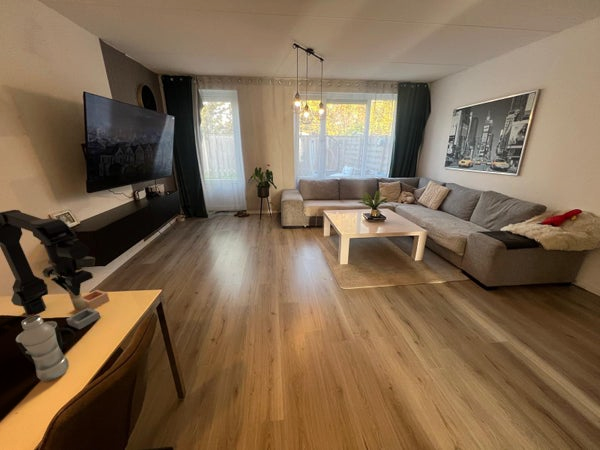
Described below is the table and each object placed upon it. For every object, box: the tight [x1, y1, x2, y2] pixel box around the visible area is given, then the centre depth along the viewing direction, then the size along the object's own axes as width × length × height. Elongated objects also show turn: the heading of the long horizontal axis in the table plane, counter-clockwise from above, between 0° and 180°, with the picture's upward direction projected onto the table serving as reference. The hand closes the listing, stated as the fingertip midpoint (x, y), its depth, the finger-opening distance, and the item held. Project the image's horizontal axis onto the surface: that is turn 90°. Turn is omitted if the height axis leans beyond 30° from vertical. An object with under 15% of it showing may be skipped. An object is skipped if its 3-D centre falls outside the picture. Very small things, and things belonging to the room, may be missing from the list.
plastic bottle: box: [20, 314, 70, 382], centre depth 68 cm, size 6×7×20 cm
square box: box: [82, 289, 110, 310], centre depth 101 cm, size 7×7×5 cm
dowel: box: [67, 289, 86, 311], centre depth 88 cm, size 3×3×10 cm
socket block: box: [65, 308, 101, 330], centre depth 91 cm, size 7×7×4 cm
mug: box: [15, 320, 75, 365], centre depth 77 cm, size 12×9×10 cm
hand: (75, 294), depth 88 cm, fingers closed on dowel, 3 cm apart
